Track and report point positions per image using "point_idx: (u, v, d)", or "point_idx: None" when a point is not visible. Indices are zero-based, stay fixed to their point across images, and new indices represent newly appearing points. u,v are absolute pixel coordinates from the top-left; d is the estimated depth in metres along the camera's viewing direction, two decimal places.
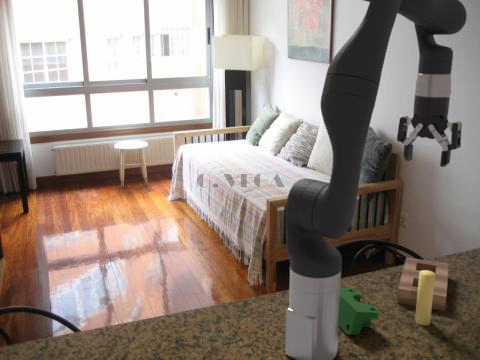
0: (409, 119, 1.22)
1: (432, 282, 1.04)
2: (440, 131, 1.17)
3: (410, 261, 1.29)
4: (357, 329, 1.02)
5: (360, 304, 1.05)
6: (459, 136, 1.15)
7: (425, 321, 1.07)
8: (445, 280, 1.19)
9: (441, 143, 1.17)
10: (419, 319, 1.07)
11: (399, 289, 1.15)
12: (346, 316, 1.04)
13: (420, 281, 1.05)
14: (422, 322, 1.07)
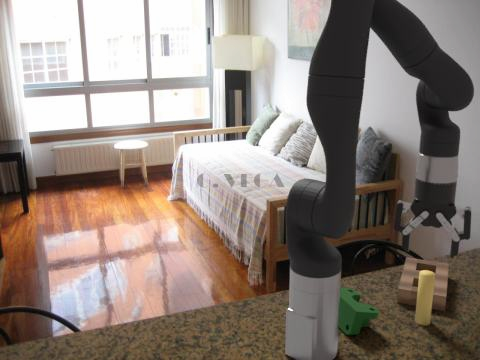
0: None
1: (432, 282, 1.04)
2: None
3: (410, 261, 1.29)
4: (357, 329, 1.02)
5: (359, 304, 1.05)
6: None
7: (425, 321, 1.07)
8: (445, 280, 1.19)
9: None
10: (419, 319, 1.07)
11: (399, 289, 1.15)
12: (345, 316, 1.04)
13: (420, 281, 1.05)
14: (422, 322, 1.07)
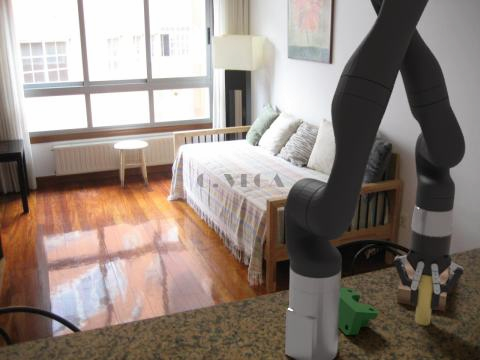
0: None
1: (432, 282, 1.04)
2: None
3: None
4: (356, 329, 1.02)
5: (359, 304, 1.05)
6: None
7: (425, 321, 1.06)
8: (445, 280, 1.19)
9: None
10: (419, 319, 1.07)
11: (399, 289, 1.15)
12: (344, 316, 1.04)
13: (420, 281, 1.05)
14: (422, 322, 1.07)
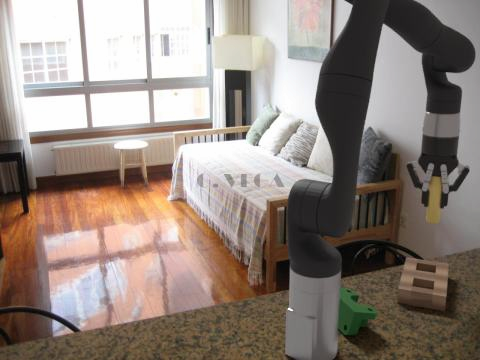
0: None
1: (441, 182, 1.15)
2: None
3: (410, 261, 1.29)
4: (355, 330, 1.02)
5: (358, 304, 1.05)
6: None
7: (435, 219, 1.18)
8: (445, 280, 1.19)
9: None
10: (429, 218, 1.18)
11: (399, 289, 1.15)
12: (343, 317, 1.04)
13: (430, 182, 1.16)
14: (432, 220, 1.18)
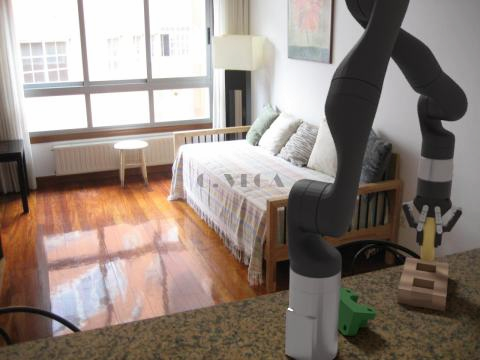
0: None
1: (435, 223, 1.21)
2: None
3: (410, 261, 1.29)
4: (354, 330, 1.02)
5: (357, 305, 1.05)
6: None
7: (429, 258, 1.23)
8: (445, 280, 1.19)
9: None
10: (424, 256, 1.23)
11: (399, 289, 1.15)
12: (343, 317, 1.04)
13: (425, 223, 1.22)
14: (427, 259, 1.23)
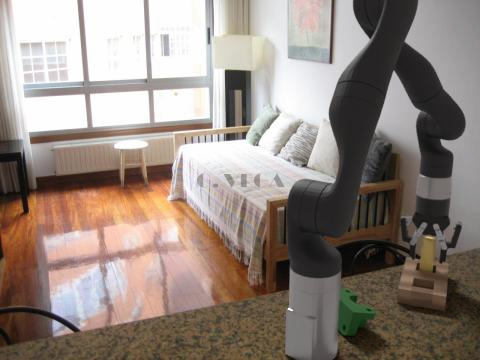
0: None
1: (433, 246, 1.22)
2: None
3: (410, 261, 1.29)
4: (354, 330, 1.02)
5: (356, 305, 1.05)
6: None
7: None
8: (445, 280, 1.19)
9: None
10: None
11: (399, 289, 1.15)
12: (342, 317, 1.04)
13: (423, 245, 1.23)
14: None
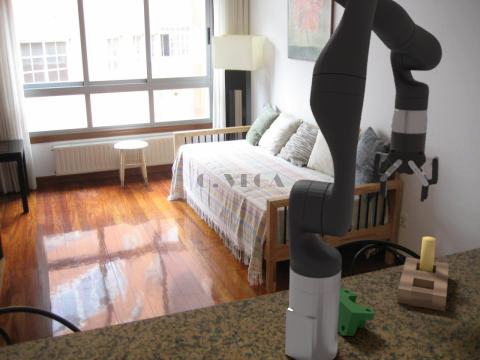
0: None
1: (433, 246, 1.22)
2: None
3: (410, 261, 1.29)
4: (353, 330, 1.02)
5: (355, 305, 1.05)
6: None
7: None
8: (445, 280, 1.19)
9: None
10: None
11: (399, 289, 1.15)
12: (341, 317, 1.04)
13: (423, 245, 1.23)
14: None
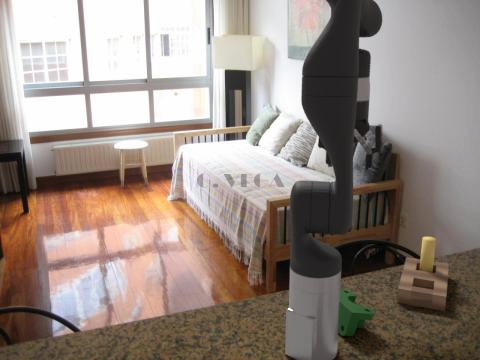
0: None
1: (433, 246, 1.22)
2: None
3: (410, 261, 1.29)
4: (352, 330, 1.02)
5: (355, 305, 1.05)
6: None
7: None
8: (445, 280, 1.19)
9: None
10: None
11: (399, 289, 1.15)
12: (340, 317, 1.04)
13: (423, 245, 1.23)
14: None
